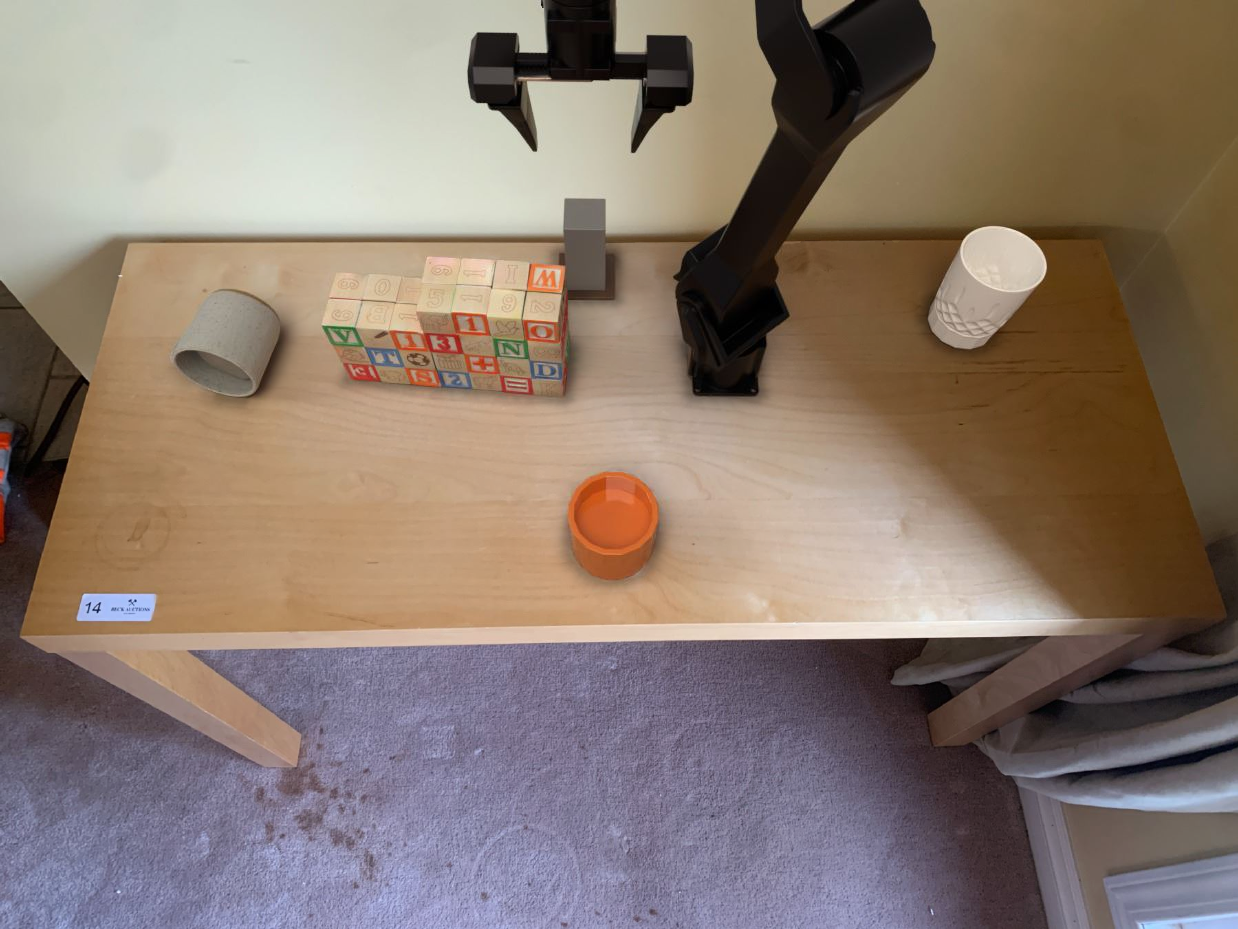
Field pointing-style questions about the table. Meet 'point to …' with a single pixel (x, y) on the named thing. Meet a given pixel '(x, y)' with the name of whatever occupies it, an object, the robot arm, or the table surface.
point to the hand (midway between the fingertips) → (584, 149)
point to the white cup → (985, 285)
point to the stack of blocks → (455, 326)
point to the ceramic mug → (228, 343)
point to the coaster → (595, 294)
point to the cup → (612, 524)
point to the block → (585, 243)
